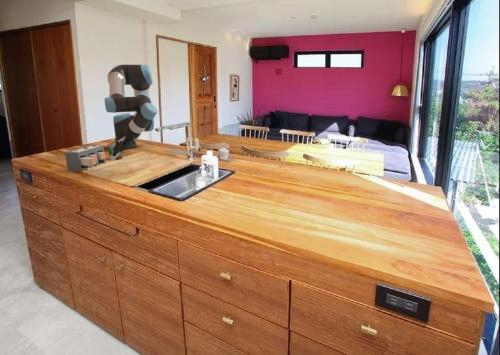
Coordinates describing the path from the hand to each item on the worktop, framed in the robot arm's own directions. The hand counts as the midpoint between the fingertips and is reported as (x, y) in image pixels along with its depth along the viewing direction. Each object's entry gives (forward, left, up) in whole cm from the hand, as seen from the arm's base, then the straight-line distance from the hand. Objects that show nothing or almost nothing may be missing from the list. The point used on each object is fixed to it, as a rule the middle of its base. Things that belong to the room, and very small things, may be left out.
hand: (111, 158), depth 177 cm
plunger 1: (+12, -3, -2) cm, 13 cm away
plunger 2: (+6, -16, -2) cm, 17 cm away
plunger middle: (+11, -11, -2) cm, 15 cm away
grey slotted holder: (+12, -13, -6) cm, 18 cm away
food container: (-6, -24, -6) cm, 25 cm away
